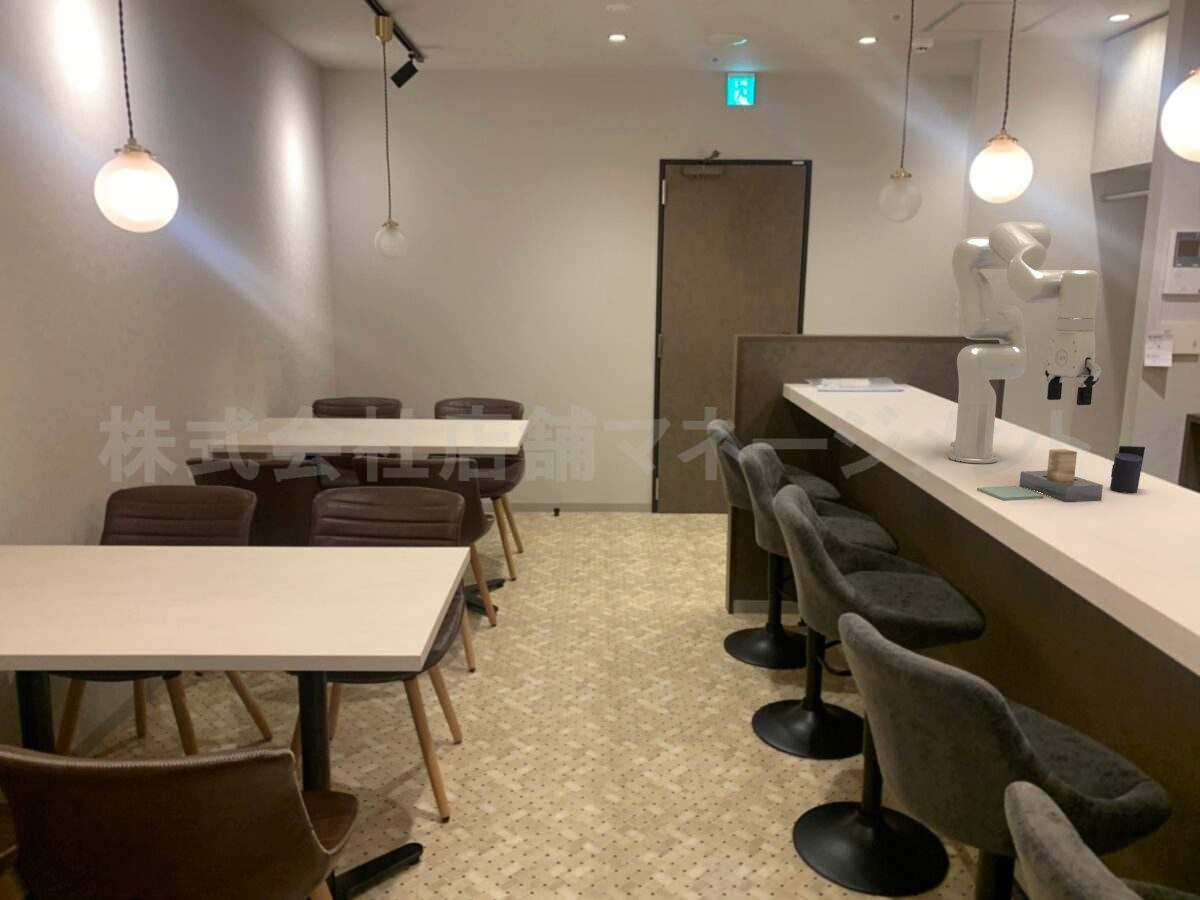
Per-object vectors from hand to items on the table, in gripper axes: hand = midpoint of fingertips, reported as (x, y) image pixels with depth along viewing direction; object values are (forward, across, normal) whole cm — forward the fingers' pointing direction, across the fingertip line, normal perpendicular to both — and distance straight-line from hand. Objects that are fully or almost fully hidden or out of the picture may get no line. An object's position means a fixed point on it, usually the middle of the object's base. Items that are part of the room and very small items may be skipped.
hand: (1068, 402), depth 198 cm
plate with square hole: (+21, 0, 0) cm, 21 cm away
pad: (+21, -2, -12) cm, 24 cm away
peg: (+21, 0, 0) cm, 21 cm away
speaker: (+22, 0, +17) cm, 27 cm away
